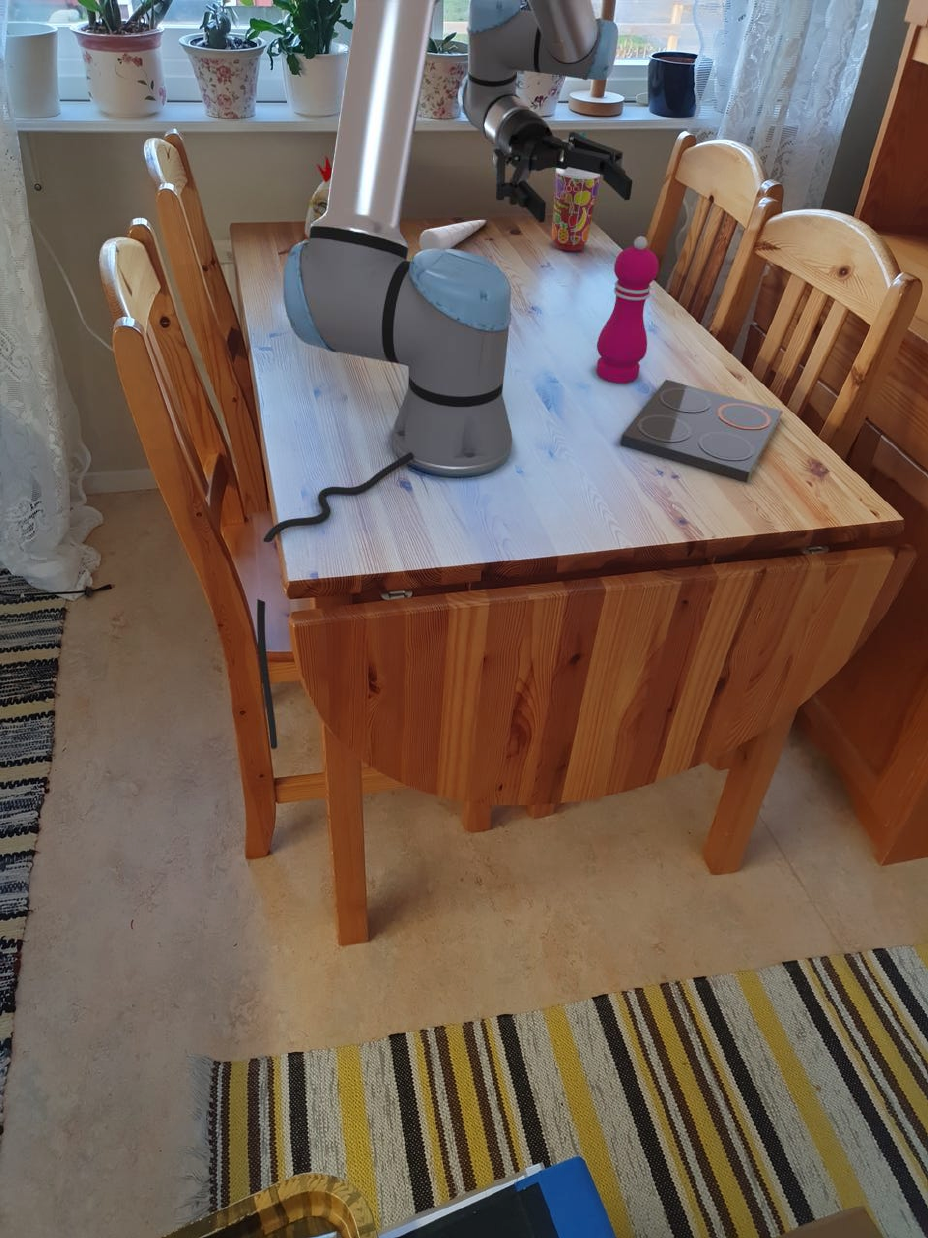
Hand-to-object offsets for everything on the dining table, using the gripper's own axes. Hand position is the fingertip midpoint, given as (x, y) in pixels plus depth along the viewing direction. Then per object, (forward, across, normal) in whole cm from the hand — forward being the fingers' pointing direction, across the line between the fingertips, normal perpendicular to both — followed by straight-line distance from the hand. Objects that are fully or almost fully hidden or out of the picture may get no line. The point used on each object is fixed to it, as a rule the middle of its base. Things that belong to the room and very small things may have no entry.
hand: (586, 201), depth 128 cm
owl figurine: (-32, +25, -24) cm, 47 cm away
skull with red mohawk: (-50, +21, -28) cm, 61 cm away
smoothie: (-36, -20, -32) cm, 52 cm away
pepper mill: (+13, 0, -20) cm, 24 cm away
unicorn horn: (-45, +1, -30) cm, 54 cm away
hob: (+31, -3, -18) cm, 36 cm away
